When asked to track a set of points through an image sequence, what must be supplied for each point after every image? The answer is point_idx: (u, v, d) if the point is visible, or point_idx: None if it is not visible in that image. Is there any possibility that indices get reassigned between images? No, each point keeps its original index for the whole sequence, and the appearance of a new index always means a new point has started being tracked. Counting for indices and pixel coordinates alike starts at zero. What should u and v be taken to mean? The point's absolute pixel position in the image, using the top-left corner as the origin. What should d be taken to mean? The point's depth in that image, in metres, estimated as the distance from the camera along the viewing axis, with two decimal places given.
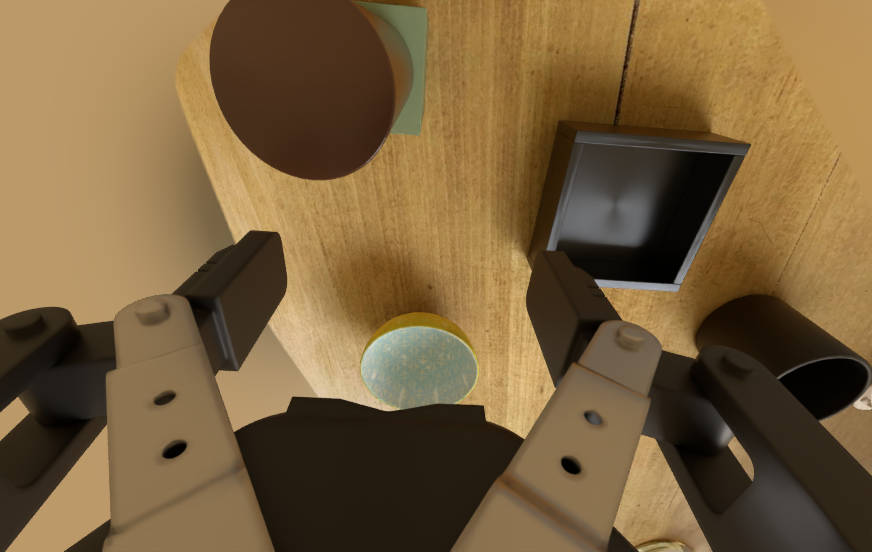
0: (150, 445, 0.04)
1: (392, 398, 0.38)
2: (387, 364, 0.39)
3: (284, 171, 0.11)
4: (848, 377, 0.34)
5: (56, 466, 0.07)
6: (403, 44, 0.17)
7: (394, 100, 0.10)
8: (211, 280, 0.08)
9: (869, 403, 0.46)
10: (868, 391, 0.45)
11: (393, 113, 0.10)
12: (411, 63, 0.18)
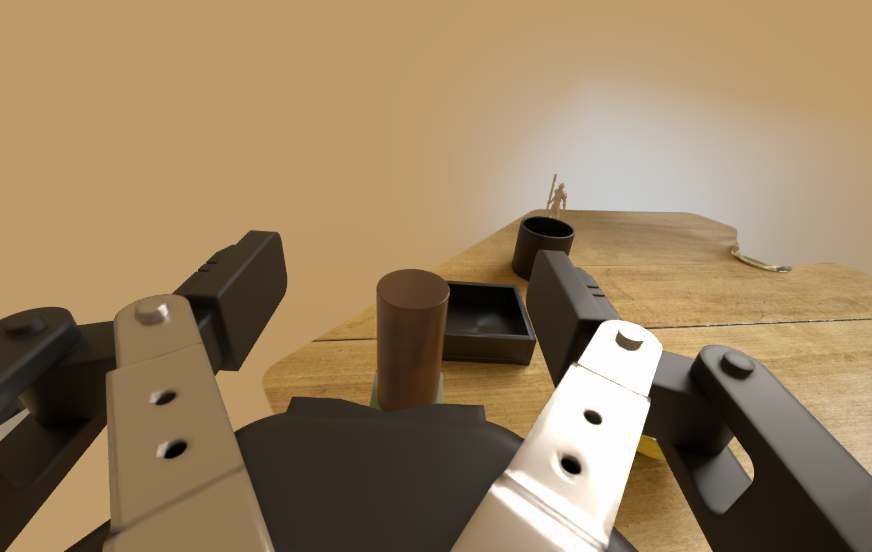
0: (150, 445, 0.04)
1: None
2: None
3: (447, 299, 0.25)
4: (535, 223, 0.69)
5: (56, 466, 0.07)
6: None
7: (415, 269, 0.27)
8: (211, 280, 0.08)
9: None
10: None
11: (420, 270, 0.27)
12: None
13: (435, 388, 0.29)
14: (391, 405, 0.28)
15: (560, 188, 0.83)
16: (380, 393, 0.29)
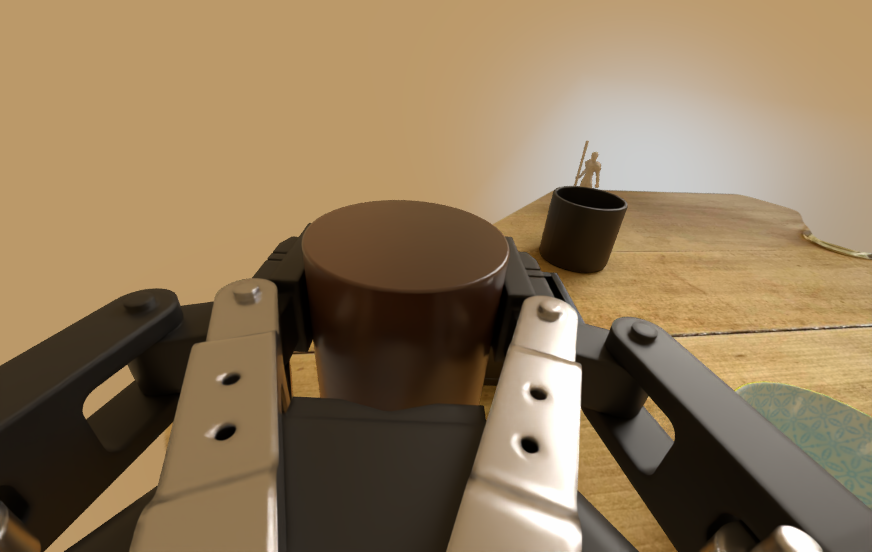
0: (206, 423, 0.05)
1: None
2: None
3: (507, 264, 0.09)
4: (570, 196, 0.53)
5: (142, 435, 0.07)
6: None
7: (414, 201, 0.11)
8: (287, 267, 0.09)
9: None
10: None
11: (426, 203, 0.11)
12: None
13: None
14: None
15: (594, 158, 0.67)
16: None
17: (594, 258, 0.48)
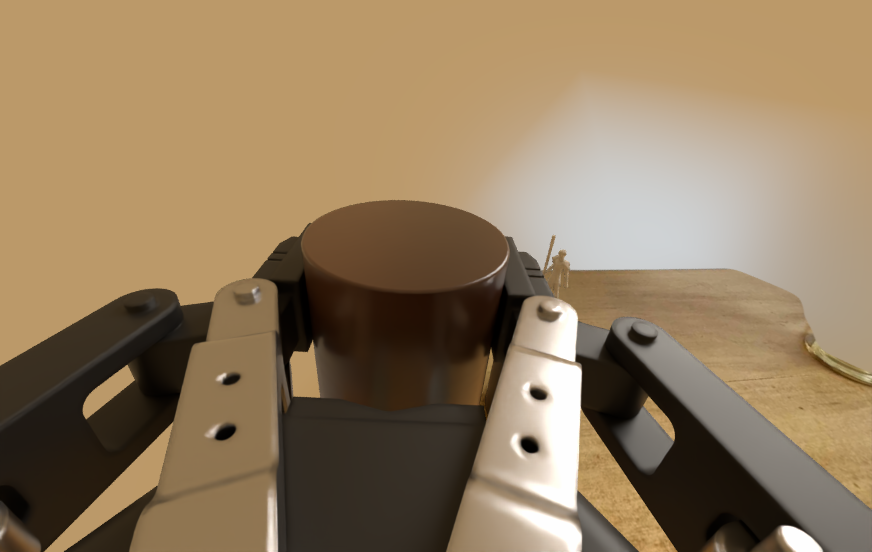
0: (207, 422, 0.05)
1: None
2: None
3: (506, 264, 0.08)
4: None
5: (143, 435, 0.07)
6: None
7: (414, 201, 0.11)
8: (288, 267, 0.09)
9: None
10: None
11: (425, 203, 0.11)
12: None
13: None
14: None
15: (561, 257, 0.57)
16: None
17: None
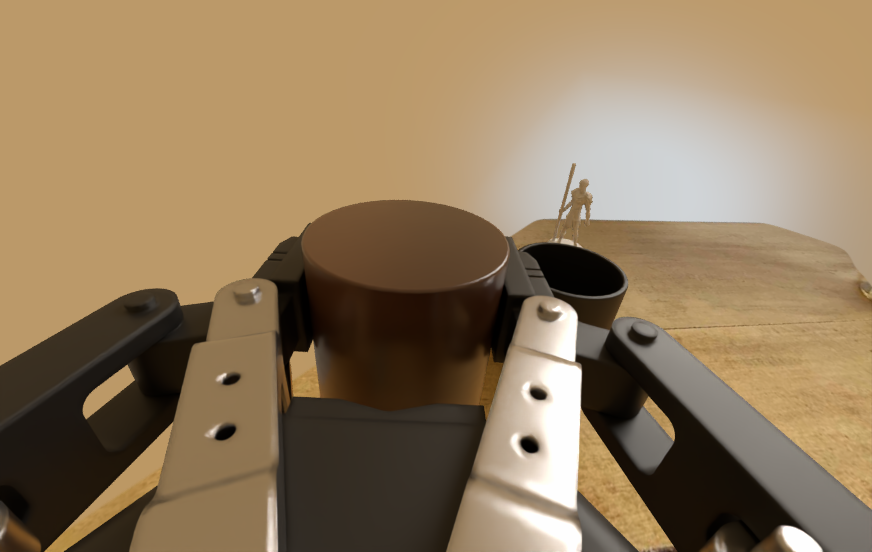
0: (206, 422, 0.05)
1: None
2: None
3: (506, 264, 0.08)
4: (542, 256, 0.36)
5: (143, 435, 0.07)
6: None
7: (415, 201, 0.11)
8: (287, 267, 0.09)
9: None
10: None
11: (426, 202, 0.11)
12: None
13: None
14: None
15: (583, 188, 0.50)
16: None
17: None
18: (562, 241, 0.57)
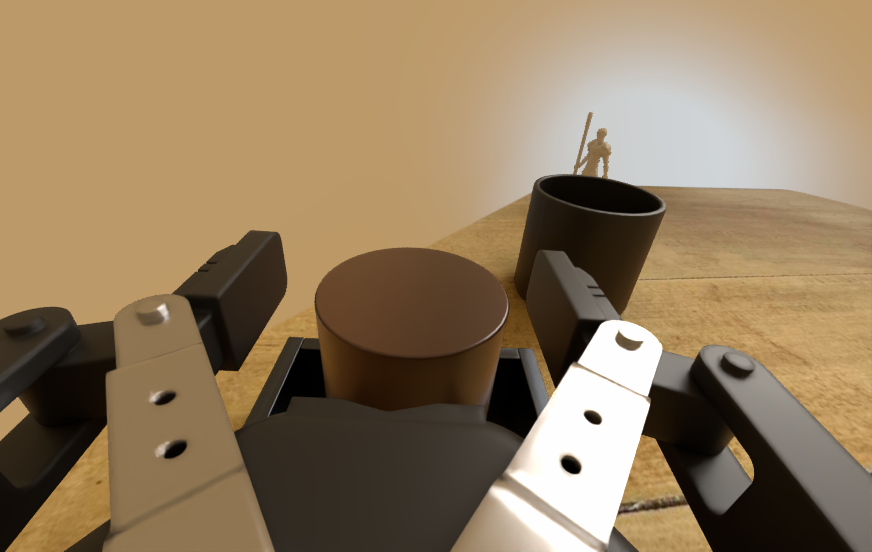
0: (150, 445, 0.04)
1: None
2: None
3: (506, 320, 0.09)
4: (564, 191, 0.32)
5: (56, 466, 0.07)
6: None
7: (419, 248, 0.12)
8: (211, 280, 0.08)
9: None
10: None
11: (430, 249, 0.12)
12: None
13: None
14: None
15: (600, 138, 0.46)
16: None
17: None
18: None
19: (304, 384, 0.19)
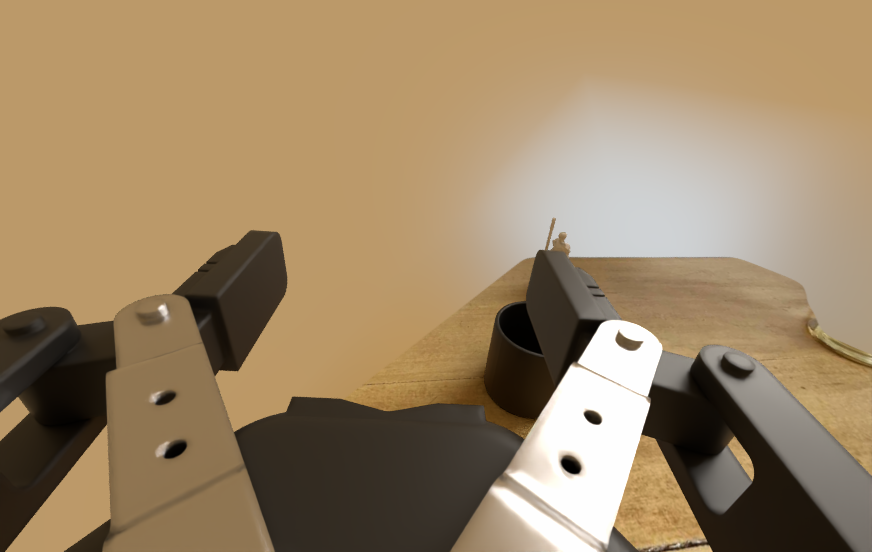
0: (150, 445, 0.04)
1: None
2: None
3: None
4: (520, 312, 0.43)
5: (56, 466, 0.07)
6: None
7: None
8: (211, 280, 0.08)
9: None
10: None
11: None
12: None
13: None
14: None
15: (561, 240, 0.57)
16: None
17: (545, 405, 0.39)
18: None
19: None
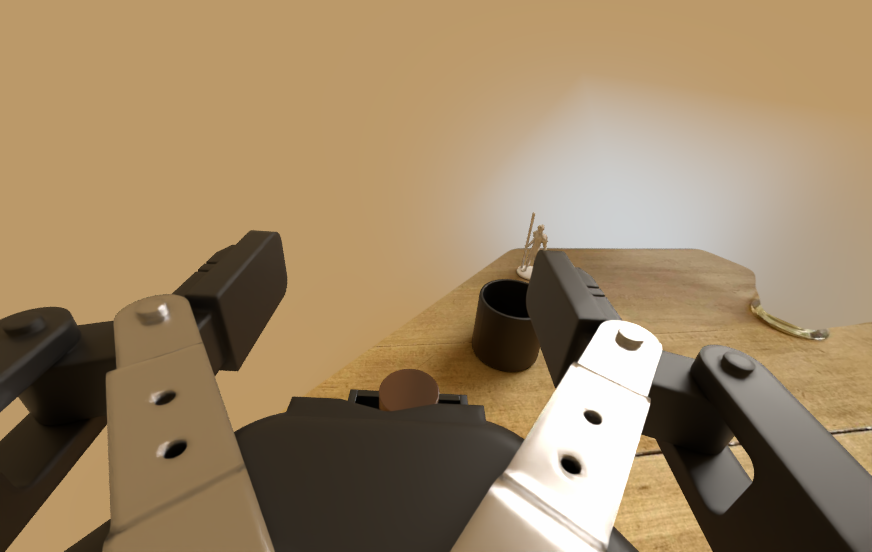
0: (150, 445, 0.04)
1: None
2: None
3: (437, 402, 0.30)
4: (501, 288, 0.53)
5: (56, 466, 0.07)
6: None
7: (411, 369, 0.33)
8: (211, 280, 0.08)
9: None
10: (528, 276, 0.71)
11: None
12: None
13: None
14: None
15: (540, 231, 0.67)
16: None
17: (519, 360, 0.48)
18: (528, 268, 0.74)
19: None
